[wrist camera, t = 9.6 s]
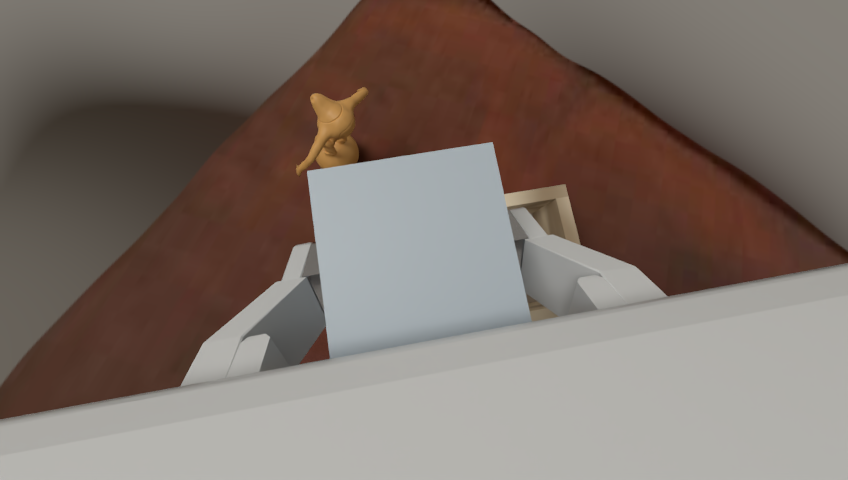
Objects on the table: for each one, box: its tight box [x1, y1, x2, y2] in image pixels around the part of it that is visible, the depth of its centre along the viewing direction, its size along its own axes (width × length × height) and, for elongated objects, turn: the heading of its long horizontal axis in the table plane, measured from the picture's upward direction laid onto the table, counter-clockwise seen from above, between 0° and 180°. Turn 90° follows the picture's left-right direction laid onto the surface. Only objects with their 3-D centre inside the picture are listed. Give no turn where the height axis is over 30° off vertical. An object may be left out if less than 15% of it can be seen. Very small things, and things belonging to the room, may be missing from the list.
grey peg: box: [307, 142, 532, 359], centre depth 10 cm, size 4×4×8 cm
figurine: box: [296, 87, 368, 177], centre depth 24 cm, size 8×6×12 cm
